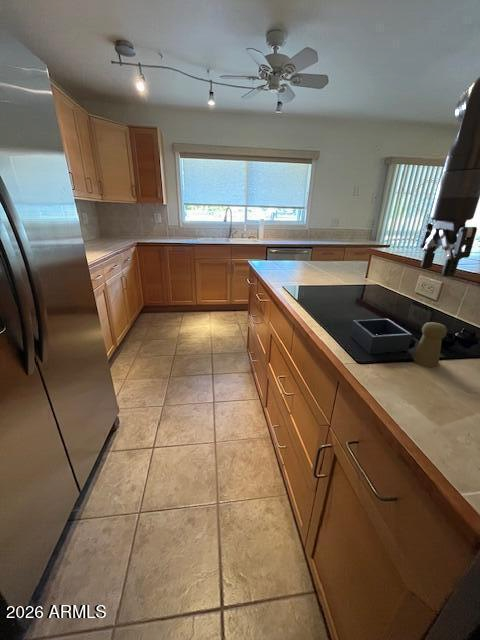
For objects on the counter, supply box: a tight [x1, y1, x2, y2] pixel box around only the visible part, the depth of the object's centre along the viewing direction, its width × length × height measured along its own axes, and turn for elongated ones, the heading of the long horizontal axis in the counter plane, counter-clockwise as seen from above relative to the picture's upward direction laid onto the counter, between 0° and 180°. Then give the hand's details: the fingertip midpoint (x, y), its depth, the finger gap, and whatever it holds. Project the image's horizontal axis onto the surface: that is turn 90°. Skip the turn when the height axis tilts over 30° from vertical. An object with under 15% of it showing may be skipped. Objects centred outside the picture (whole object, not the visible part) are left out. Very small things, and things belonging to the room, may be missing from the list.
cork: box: [411, 321, 448, 368], centre depth 69 cm, size 6×6×11 cm
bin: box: [349, 317, 413, 355], centre depth 79 cm, size 12×12×6 cm
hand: (435, 271), depth 62 cm, fingers open, 8 cm apart
